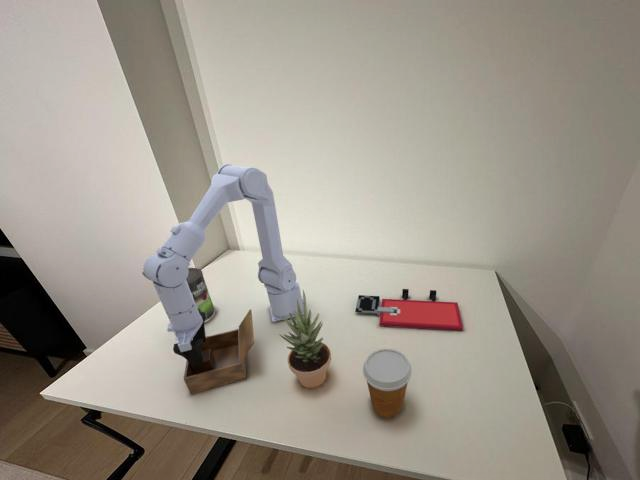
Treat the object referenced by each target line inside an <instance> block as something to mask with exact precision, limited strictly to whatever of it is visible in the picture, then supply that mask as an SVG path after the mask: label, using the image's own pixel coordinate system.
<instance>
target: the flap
mask: <svg viewBox="0 0 640 480" xmlns="http://www.w3.org/2000/svg"><path fill="white" fill-rule="evenodd" d="M253 323H254V322H253V311H252V309H249V310H248V312H247V313H246V314H245V316H244V318H243V319H242V321H241V322H240V324H239V325H238V329H239V346H240V361H241V362H242V360H243V359H244V357H245V358H246V356H247V354H248V353H249V351H250V349H252V347H253V346H254V344H255V334H254V324H253Z"/></svg>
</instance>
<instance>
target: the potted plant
mask: <svg viewBox="0 0 640 480" xmlns="http://www.w3.org/2000/svg"><path fill="white" fill-rule="evenodd" d="M302 300H303V308H304V315H302V312H301V308H300V305H299V302H298V299H297V309H298V315H297V313H296V311H295V310H294V315H295V317H292V315H291V314H290V313H289V315H290V317H291V318H290V320H291V321H290V320H288V319H286V318H285V317H284V316H283V318H284V320H283V321H284V322H285V324H286V325H287V327H288V328H289V329H290V330H291V331H292V332H293V333H294V334H293V333H292V332H290V331H288V332H287V333H288V334H284V333H283V335H282V334H280V333H279V336H280V338H282V339H283V340H284V341H285V342H286V343H288V344H290V345H291V346H293V347H291V346H286V348H287V349H288V350H290V351H289V353H288V355H287V365H288V368H289V370H290V371H291V373H292V374H294V375H295V376H296V378H297V380H298V381H299V383H300V384H301V386H303V387H304V388H308V389H313V388H314V389H315V388H317V387H319V386H321V385H322V384H323V383H324V382H325V380H326V377H327V371H328V368H329V366H330V364H331V362H332V352H331V349H330V347H329V346H328V345H327V344H326V343H324V342H322V341H323V340H324V337H321V338H319V339H318V340H317V338H318V335H319V333H320V331H321V329H322V327H323V322H322V321H323V320H320V321H319V322H318V319H319V318H320V312H318V313H317V315H316V316H315V318H314V320H312V309H311V308H309V311H308V309H307V297H306V292H305V290H304V289H303V290H302ZM317 322H318V324H317ZM316 324H317V325H316Z"/></svg>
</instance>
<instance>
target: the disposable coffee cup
mask: <svg viewBox="0 0 640 480" xmlns="http://www.w3.org/2000/svg"><path fill="white" fill-rule="evenodd" d="M412 373H413V368H412V365H411V363H410V361H409V359H408V357H407V356H406V354H404V353H403V352H401V351H399V350H396V349H393V348H380V349H377V350H374V351H373V352H372V353H370V354H369V355H368V356H367V357H366V359H365V361H364V363H363V365H362V374H363V378H364V379H365V381H366V384H367V389H368V393H369V397H370V401H371V406H372V410H373V411H374V413H375V414H376V415H378V416H379V417H381V418H384V419H390V418H394V417H396V416H398V415H399V414H400V413H401V411H402V409H403V405H404V399H405V396H406V393H407V388H408V383H409V381H410V379H411V378H412Z"/></svg>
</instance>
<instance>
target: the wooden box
mask: <svg viewBox="0 0 640 480" xmlns="http://www.w3.org/2000/svg"><path fill="white" fill-rule="evenodd" d="M208 349H211V352H212V354H213V357H214V359H215V367H214V370H211V371H207V372H203V373H200V374H196V375H195V373H194V370H193V368H192V366H191V364H190V363H189V362H188V361H187V360H186V362H185V368H184V374H183V381H184V383H185V385H186V388H187V389H188V392H189V394H190V395H194V394H197V393H202V392H204V391H208V390H212V389H215V388H219V387H222V386H226V385H229V384H233V383H236V382H239V381H243V380H247V367H246V356H245V357H244V359H243V360H242V362H241V361H240V346H239V328H236V329H232V330H228V331H223V332H220V333H216V334H212V335H208V336H206V341H205V342H204V343H202V351H204V350H208Z"/></svg>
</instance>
